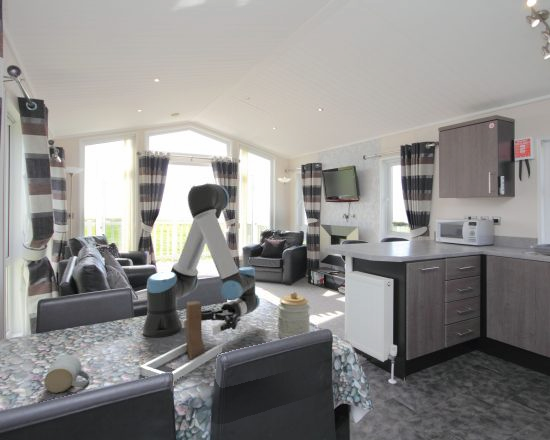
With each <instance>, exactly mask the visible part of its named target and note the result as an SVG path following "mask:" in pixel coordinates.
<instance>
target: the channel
mask: <svg viewBox="0 0 550 440" xmlns="http://www.w3.org/2000/svg"><path fill="white" fill-rule="evenodd" d="M222 352H223V344H220V343H219V344H218V345H216V346H214V347H212V348H211V349H209V350H207V351H204V354H202V355H200V356H198V357H197V358H195V359H193V360H192V361H191V360H189V361H188V362H186V363H185V364H183V365H181V366H179V367H177V368H173V367H169V366H166V365H164V364H166V363H168V362H169V361H172V360H174V359H176V358H177V357H180V356H181V355H183V354H185V353H187V342H185V343H184V344H181V345H179V346H177V347H175V348H173V349H171V350H169V351H168V352H166V353H164V354H162V355H159V356H157V357H155V358H154V359H153V358H152V359H151V360H150V361H148V362H146V363H144V364H142V365H140V366H139V375H141V376H143V377H145V378H148V377H147V376H151V375H156V374H161V373H165V372H172V373H173V375H174V382H176V381H178V380H179V379H181V378H183V377H184V376H186V375H188V374H190V373H191V372H192V371H194V370H195V369H197V368H198V367H200V366H202V365H203V364H205V363H207V362H208V361H210V360H211V359H214V357H216V356H218V355H219V354H221V353H222ZM217 354H218V355H217ZM182 376H183V377H182ZM180 377H181V378H180ZM177 379H178V380H177ZM174 382H173V383H174Z"/></svg>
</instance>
